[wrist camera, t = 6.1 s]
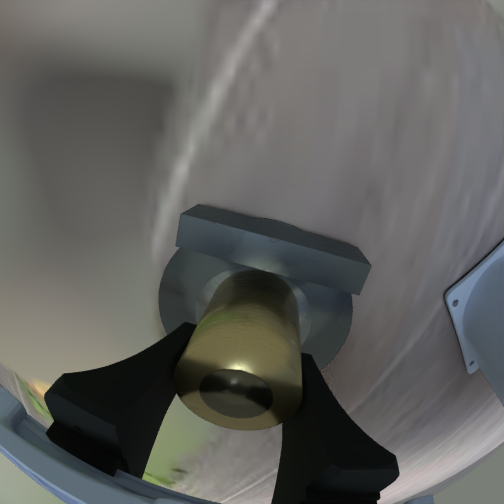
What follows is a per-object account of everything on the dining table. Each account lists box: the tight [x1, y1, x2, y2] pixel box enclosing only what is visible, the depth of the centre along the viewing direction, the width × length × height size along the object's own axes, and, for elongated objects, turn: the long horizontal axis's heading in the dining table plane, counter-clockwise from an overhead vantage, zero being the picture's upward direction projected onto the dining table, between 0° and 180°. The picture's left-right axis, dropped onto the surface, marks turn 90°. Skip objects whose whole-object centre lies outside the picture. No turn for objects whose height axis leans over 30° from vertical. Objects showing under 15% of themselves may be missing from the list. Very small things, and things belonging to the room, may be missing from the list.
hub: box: [173, 270, 302, 430], centre depth 12 cm, size 5×5×6 cm
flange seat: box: [159, 204, 371, 371], centre depth 14 cm, size 11×11×3 cm
